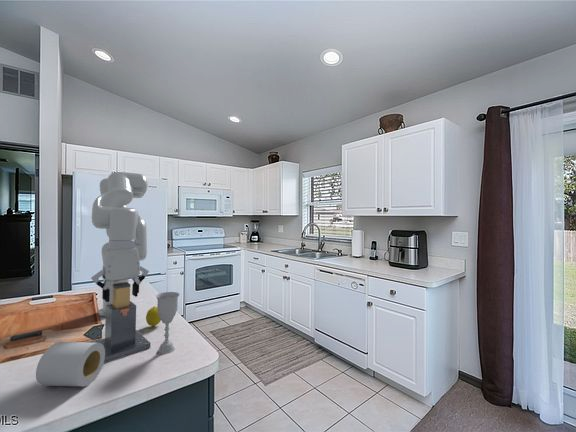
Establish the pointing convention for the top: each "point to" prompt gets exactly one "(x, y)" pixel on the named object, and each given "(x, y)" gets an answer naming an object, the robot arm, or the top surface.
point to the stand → (121, 333)
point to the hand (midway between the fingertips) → (121, 297)
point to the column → (121, 295)
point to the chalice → (167, 316)
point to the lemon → (153, 317)
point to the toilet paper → (70, 364)
